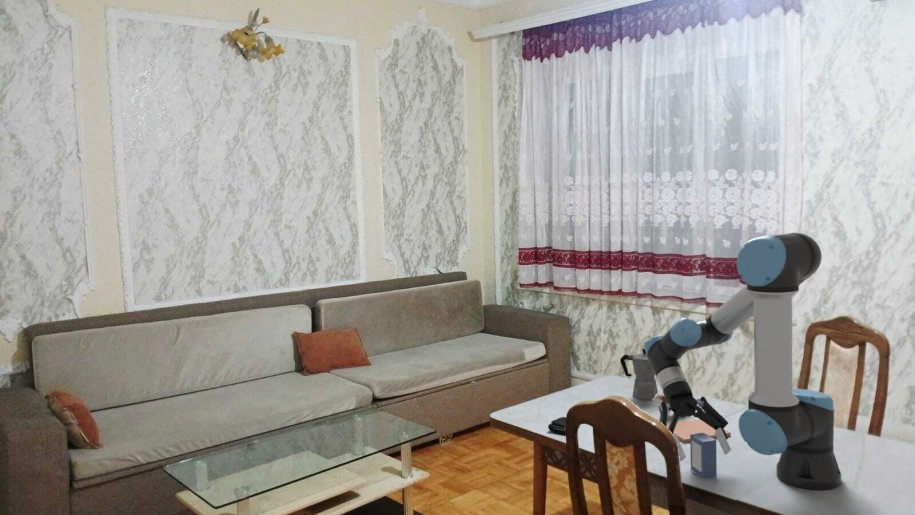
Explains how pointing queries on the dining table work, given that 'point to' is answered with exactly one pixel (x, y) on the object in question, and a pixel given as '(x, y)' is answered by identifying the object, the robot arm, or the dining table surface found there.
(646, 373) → the coffeepot
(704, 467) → the block
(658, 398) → the bull figurine
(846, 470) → the dining table surface
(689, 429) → the plate
